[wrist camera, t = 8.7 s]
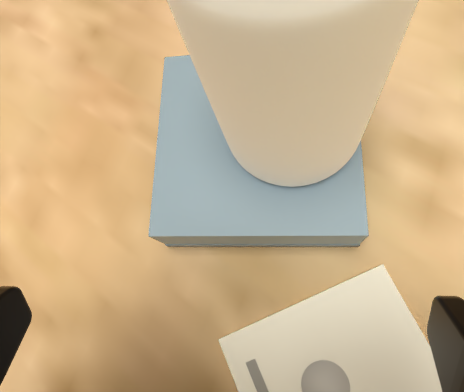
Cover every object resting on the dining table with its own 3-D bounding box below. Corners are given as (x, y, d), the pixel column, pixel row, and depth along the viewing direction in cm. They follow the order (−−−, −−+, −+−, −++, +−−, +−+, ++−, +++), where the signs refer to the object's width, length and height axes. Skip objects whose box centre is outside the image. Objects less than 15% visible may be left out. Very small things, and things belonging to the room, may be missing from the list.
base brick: (358, 246, 18) (369, 236, 15) (168, 246, 20) (147, 237, 17) (345, 74, 21) (353, 39, 18) (180, 87, 23) (164, 56, 20)
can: (245, 61, 19) (172, -296, 8) (372, 78, 18) (517, -333, 6) (211, 174, 18) (58, -60, 6) (347, 203, 16) (476, -36, 5)
